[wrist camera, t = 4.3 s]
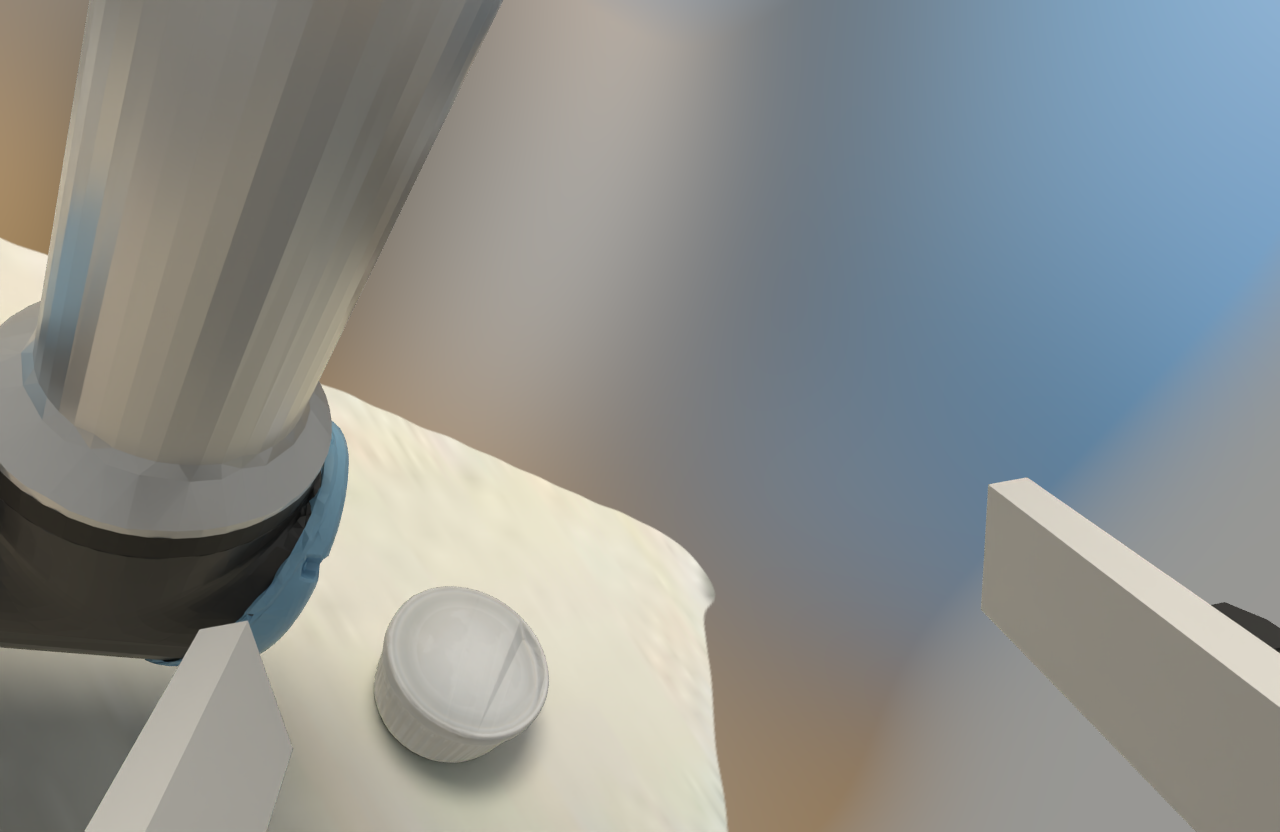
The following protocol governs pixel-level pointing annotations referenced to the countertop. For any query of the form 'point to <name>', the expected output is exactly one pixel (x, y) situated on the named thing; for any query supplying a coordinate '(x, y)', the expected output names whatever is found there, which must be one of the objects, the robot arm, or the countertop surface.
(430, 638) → the ramekin
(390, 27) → the robot arm
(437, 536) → the countertop surface
